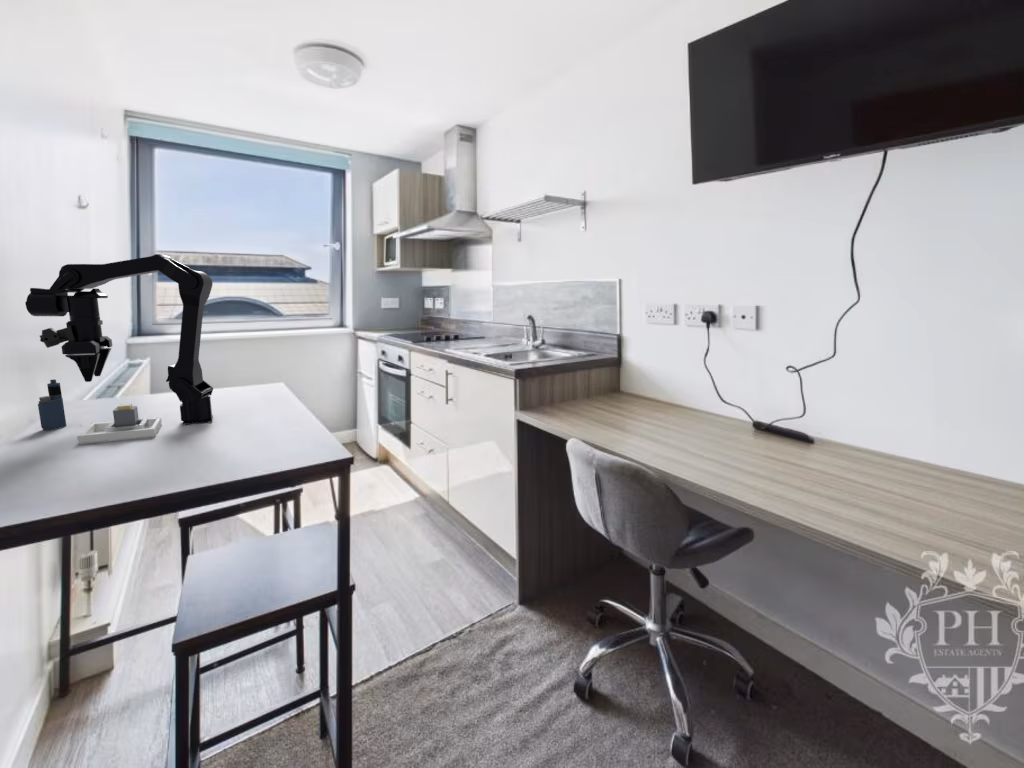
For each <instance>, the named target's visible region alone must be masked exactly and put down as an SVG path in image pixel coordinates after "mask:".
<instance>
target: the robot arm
mask: <svg viewBox="0 0 1024 768" xmlns="http://www.w3.org/2000/svg"><path fill="white" fill-rule="evenodd" d="M154 273H162V275H164V276H165V277H166V278H168V279H169V280H172V281H173V282H175V283H177V284H178V285H177V286H178V293H179V298H180V299H181V303H182V313H181V314H182V315H181V322H180V323H181V324H180V336H179V348H178V358H177V361H176V363H173V364H171V365H170V364H169V365H168V366H167V378H166V380H165V382H167V383H168V388H169V389H170V390H171V391H172V392H173V393H174V394H176V396H177V398H178V400H179V402H181V404H180V406H179V412H180V419H181V422H182V424H183V425H191V424H202V423H203V424H204V423H211V422H212V423H213V419H214V414H213V410H212V401H211V400H212V399H211V398H212V397H211V396H212V394H213V391H214V387H212V385H210V383H208V382H207V381H205V379H204V378H203V377H204V376H203V369H202V367H201V363H200V360H199V359H200V357H199V356H200V346H201V337H202V326H203V318H204V317H203V315H204V307H205V305H206V303H207V301H208V299H209V297H210V295H211V291H212V288H213V279H212V278H211V277H210V275H208V274H207V273H205V272H204V271H199V270H194V269H192V268H191V267H189V266H187V265H184V264H182V263H180V262H178V261H176V260H175V259H173V258H171V256H169V255H166V254H165V255H164V254H162V253H161V254H160V253H159V254H153V255H150V256H145V257H137V258H133V259H126V260H120V261H114V262H109V263H108V262H107V263H100V264H98V263H95V264H94V263H93V264H92V263H69V264H65V265H63V266H61V268H60V269H59V272H58V277H57V278H56V279H55V281H54V282H53V283H52V284H51V286H50V288H42V287H30V289H29V291H30V293H29V294H28V295H27V297H26V300H25V308H26V311H27V312H28V313H29V314H30V315H31V316H32V317H65V316H66V315H67V314H69V315H68V316H69V320H68V321H67V322H65V323H66V324H65V325H66V327H65V328H61V329H58V330H56V329H54V328H52V327H49V328H46V329H42V330H41V335H39V338H40V339H39V341H40V342H41V343H43V344H44V345H45V347H46V348H51V347H55V346H59V345H60V344H62V343H63V345H61V354H62V355H65V357H66V358H68V359H70V360H72V361H74V362H75V364H76V365H77V367H78V369H79V371H80V373H81V376H82V378H83V380H84V382H86V383H90V382H92V380H93V377H101V375H102V373H103V370H104V368H105V364H106V362H107V360H108V357H109V356H110V355H109V354H110V352H111V351H112V347H113V340H112V339H111V337H109V336H108V335H103V332H102V325H104V324H103V319H102V320H101V315H100V308H99V300H98V299H108V297H109V296H108V295H107V294H106V293H104V292H102V291H101V290H100V289H99V288H97V287H99V286H103V285H105V284H107V283H109V282H112V281H114V280H119V279H124V278H130V277H136V276H141V275H143V276H144V275H148V274H154ZM89 289H90V291H87V290H89ZM85 290H86V291H85ZM68 293H74V294H73V295H69V294H68ZM64 342H65V343H64ZM105 347H106V348H105Z"/></svg>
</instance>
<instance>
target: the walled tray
mask: <svg viewBox="0 0 1024 768" xmlns="http://www.w3.org/2000/svg"><path fill="white" fill-rule="evenodd" d="M147 419H148V422H149V429H138V430H127V431H117V432H106V433H105V427H106V426H107V425H108V424H109V423H110V422H111V421H107V422H105V421H104V422H94V423H90V424H89V425H88V426H87V427H86V428H85V429H84V430H82V431H81V432H80V433H79V434H78V435H77V438H78V439H77V440H78V441H77V442H78V445H86V444H87V445H89V444H96V443H97V444H98V443H107V442H116V441H117V442H119V441H128V440H138V439H146V438H147V439H149V438H155V437H156V436H157V434H158V433H159V431H160V429H161V428H162V426H163V424H162V423H163V422H162V417H153V418H152V417H151V418H147Z"/></svg>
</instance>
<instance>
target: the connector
mask: <svg viewBox="0 0 1024 768" xmlns="http://www.w3.org/2000/svg"><path fill="white" fill-rule="evenodd" d="M112 414H113V420H114V421H113V422H114V424H115V427H118V426H129V425H139V419H140V417H139V411H138V406H137V405H133V403H123V404H119V405H117V406H116V408H114V409H113V410H112Z"/></svg>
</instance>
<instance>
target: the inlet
mask: <svg viewBox="0 0 1024 768" xmlns="http://www.w3.org/2000/svg"><path fill="white" fill-rule="evenodd" d="M148 419H149V418H139V425H129V426H118V427H115V424H114V421H109V422H110V423H109V424H108V425H107V426H106V427H105V433H106V432H117V431H127V430H138V429H149V422H148Z"/></svg>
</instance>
